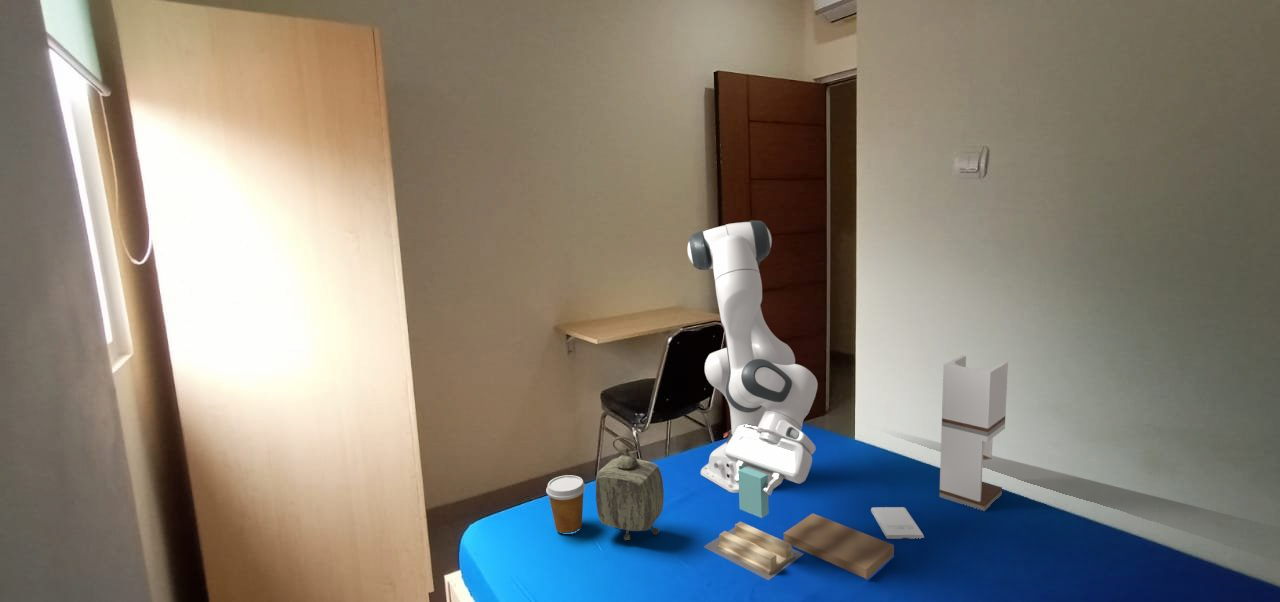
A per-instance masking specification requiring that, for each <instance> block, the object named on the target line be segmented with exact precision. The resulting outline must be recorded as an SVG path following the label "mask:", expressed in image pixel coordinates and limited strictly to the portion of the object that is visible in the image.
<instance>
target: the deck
mask: <svg viewBox="0 0 1280 602" xmlns="http://www.w3.org/2000/svg"><path fill="white" fill-rule="evenodd" d="M783 541H785V542H787V543H790V544H791V547H795V548H797V549H798V550H801V551H803V552H806V553H808V554H810V555H812V556H814V557H817V558H819V559H821V560H824V561H825V562H828V563H831V564H832V565H834V566H837V567H839V568H841V569H843V570H846V571H848V572H850V573H852V574H854V575H857V576H859V577H862V578H864V579H865V581H867V580H869V579H870V578H871V577H872V576H873V575H875V573H877V571H879V570H880V569H881V568H882V567H883V566H884V565H885V564H886V563H887V562H888V561H890V560H891V559H892V558H893V557H894V556H895V555H894V553H895V551H894V550H895V546H894V544H892V543H890V542H887V541H884V540H883V539H882V540H881V539H879V538H878V537H874V536H872V535H869V534H867V533H864V532H861V531H859V530H856V529H854V528H851V527H850V526H846V525H844V524H841V523H839V522H837V521H833V520H831V519H829V518H826V517H823V516H821V515H819V514H815V513H813V512H812V513H811V514H809V515H808V516H806V517H805V518H804V519H801V520H800V521H799V522H797V523H796V524H795V525H793V526H792V527H789V529H787V530H786V531H785V532H783Z"/></svg>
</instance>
